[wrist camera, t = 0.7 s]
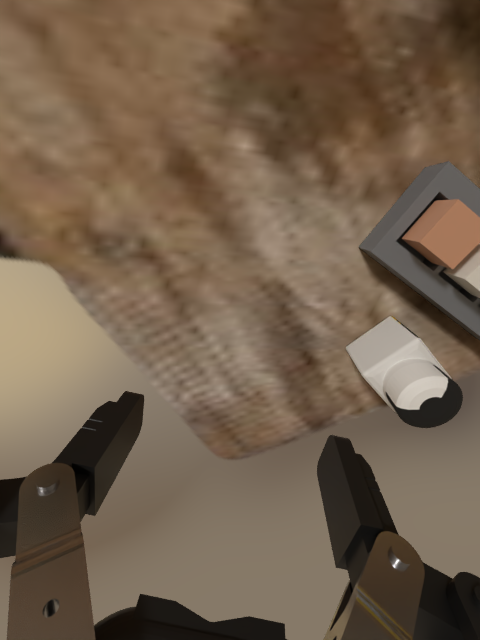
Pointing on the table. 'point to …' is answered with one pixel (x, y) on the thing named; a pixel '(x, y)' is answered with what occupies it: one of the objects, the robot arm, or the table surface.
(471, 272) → the ivory key
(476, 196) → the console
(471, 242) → the terracotta key
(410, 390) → the medicine bottle
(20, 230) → the table surface
